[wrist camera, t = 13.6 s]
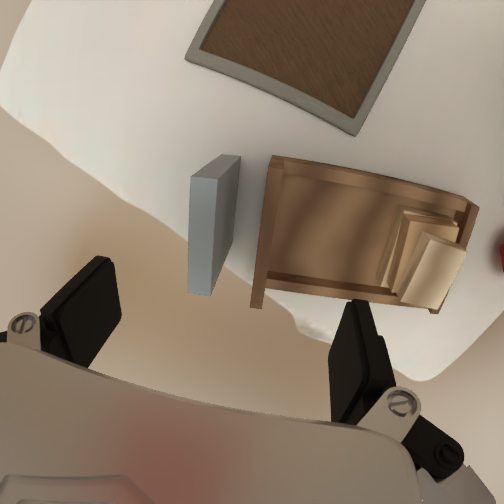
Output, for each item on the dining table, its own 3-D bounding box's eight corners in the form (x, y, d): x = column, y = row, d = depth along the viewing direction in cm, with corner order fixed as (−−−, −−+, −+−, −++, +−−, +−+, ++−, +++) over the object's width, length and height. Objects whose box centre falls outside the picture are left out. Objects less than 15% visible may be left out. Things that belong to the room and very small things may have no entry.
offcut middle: (450, 220, 28) (459, 228, 26) (431, 284, 31) (438, 295, 29) (402, 213, 28) (410, 221, 26) (386, 281, 32) (391, 292, 30)
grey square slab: (240, 156, 31) (217, 179, 22) (232, 242, 36) (210, 296, 26) (221, 154, 31) (190, 176, 22) (215, 240, 36) (187, 292, 26)
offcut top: (458, 244, 27) (467, 252, 25) (431, 299, 30) (437, 309, 28) (422, 231, 27) (430, 239, 25) (395, 290, 30) (400, 301, 28)
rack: (462, 196, 30) (493, 217, 23) (427, 296, 36) (446, 329, 30) (272, 155, 31) (268, 167, 25) (256, 272, 37) (249, 307, 31)
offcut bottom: (449, 216, 30) (457, 223, 28) (425, 283, 34) (431, 293, 32) (397, 203, 30) (404, 210, 28) (376, 276, 34) (380, 286, 32)
